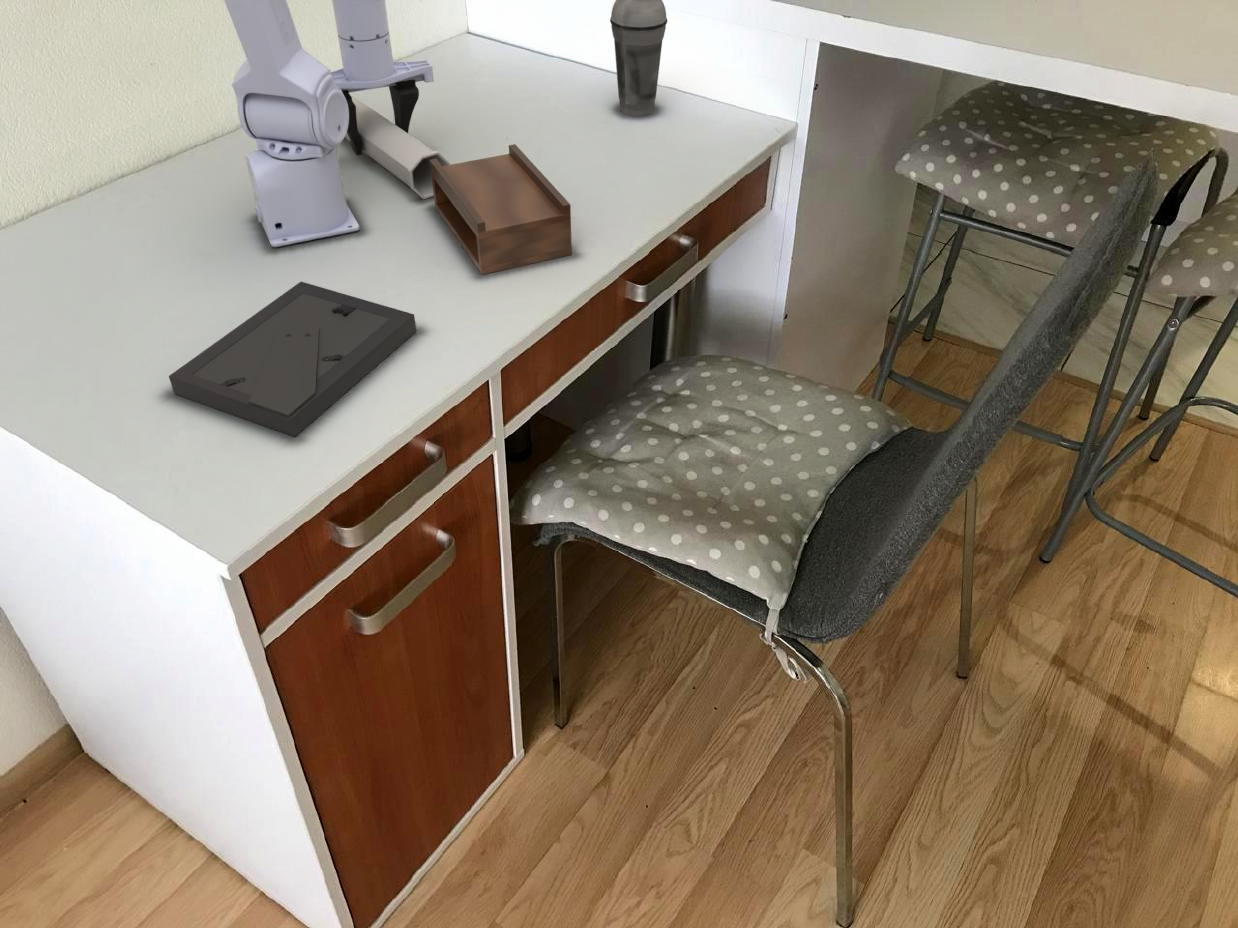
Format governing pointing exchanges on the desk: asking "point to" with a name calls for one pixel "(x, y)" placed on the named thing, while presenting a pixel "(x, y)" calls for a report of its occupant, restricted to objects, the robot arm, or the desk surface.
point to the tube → (396, 149)
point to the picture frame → (294, 357)
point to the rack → (502, 211)
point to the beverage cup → (638, 52)
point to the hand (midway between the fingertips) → (380, 147)
